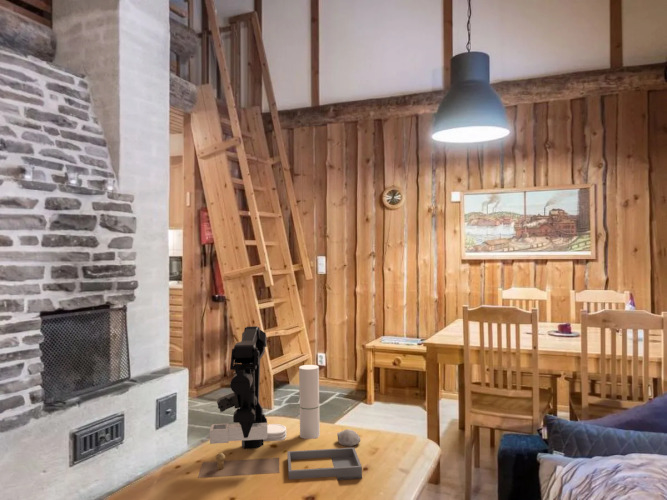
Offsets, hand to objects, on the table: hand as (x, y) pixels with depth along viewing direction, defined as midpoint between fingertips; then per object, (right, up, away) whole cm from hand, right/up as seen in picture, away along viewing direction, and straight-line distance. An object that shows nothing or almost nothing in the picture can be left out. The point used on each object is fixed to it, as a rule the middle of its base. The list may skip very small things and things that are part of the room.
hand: (246, 435), depth 158 cm
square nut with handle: (-2, -1, 0) cm, 2 cm away
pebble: (+32, -11, +21) cm, 40 cm away
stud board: (-2, -11, 0) cm, 11 cm away
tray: (+24, -11, 0) cm, 26 cm away
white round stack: (+5, -11, +28) cm, 30 cm away
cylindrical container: (+18, -11, +29) cm, 36 cm away
